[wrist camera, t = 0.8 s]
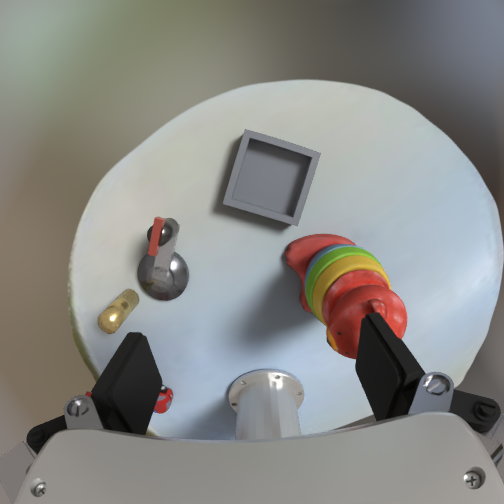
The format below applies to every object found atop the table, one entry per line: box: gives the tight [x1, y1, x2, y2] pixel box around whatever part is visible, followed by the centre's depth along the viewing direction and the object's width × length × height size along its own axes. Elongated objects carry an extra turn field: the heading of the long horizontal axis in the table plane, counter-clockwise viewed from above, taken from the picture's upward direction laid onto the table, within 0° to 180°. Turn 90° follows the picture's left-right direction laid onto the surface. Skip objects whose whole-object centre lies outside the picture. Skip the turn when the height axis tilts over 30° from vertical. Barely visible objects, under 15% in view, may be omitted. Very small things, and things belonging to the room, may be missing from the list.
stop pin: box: [98, 289, 139, 334], centre depth 34 cm, size 3×3×8 cm
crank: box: [146, 217, 180, 293], centre depth 31 cm, size 11×4×6 cm, turn 163°
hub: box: [138, 252, 189, 300], centre depth 36 cm, size 7×7×1 cm
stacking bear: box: [285, 234, 407, 359], centre depth 28 cm, size 11×10×18 cm
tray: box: [223, 129, 321, 226], centre depth 32 cm, size 9×9×3 cm
